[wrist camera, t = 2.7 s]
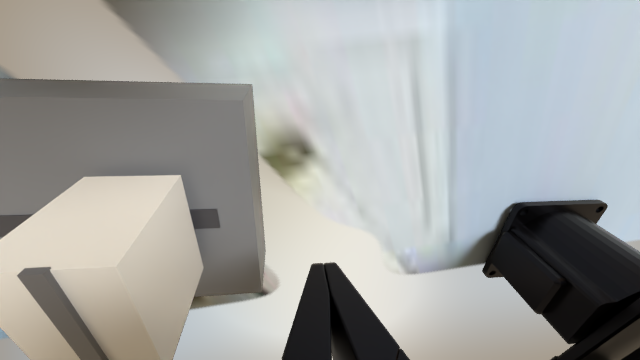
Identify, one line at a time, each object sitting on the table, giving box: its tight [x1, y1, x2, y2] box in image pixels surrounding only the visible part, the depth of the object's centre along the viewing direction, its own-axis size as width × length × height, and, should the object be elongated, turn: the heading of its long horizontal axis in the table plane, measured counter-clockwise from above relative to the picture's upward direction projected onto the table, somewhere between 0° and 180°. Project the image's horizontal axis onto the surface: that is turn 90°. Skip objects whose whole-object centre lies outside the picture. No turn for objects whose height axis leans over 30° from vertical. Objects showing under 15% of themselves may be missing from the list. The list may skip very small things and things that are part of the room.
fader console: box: [0, 79, 265, 297], centre depth 12 cm, size 18×10×3 cm, turn 87°
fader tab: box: [0, 175, 204, 360], centre depth 9 cm, size 3×5×4 cm, turn 177°
